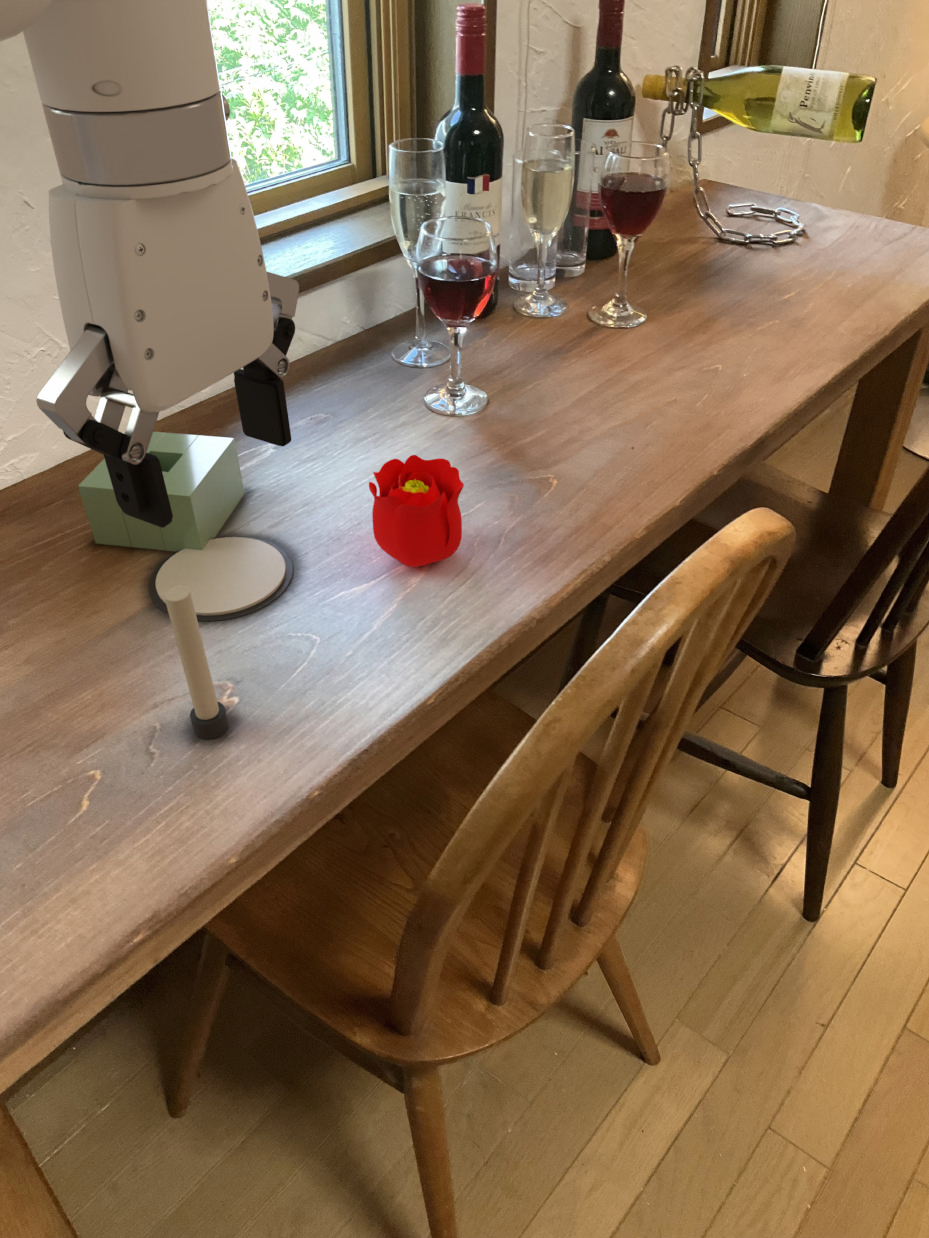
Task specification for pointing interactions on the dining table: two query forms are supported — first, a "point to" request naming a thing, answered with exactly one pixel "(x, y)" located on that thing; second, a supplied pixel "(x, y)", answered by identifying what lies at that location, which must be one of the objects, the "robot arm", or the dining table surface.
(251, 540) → the beige coaster disc
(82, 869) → the dining table surface
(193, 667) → the pen
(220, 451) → the pen stand
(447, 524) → the flower
